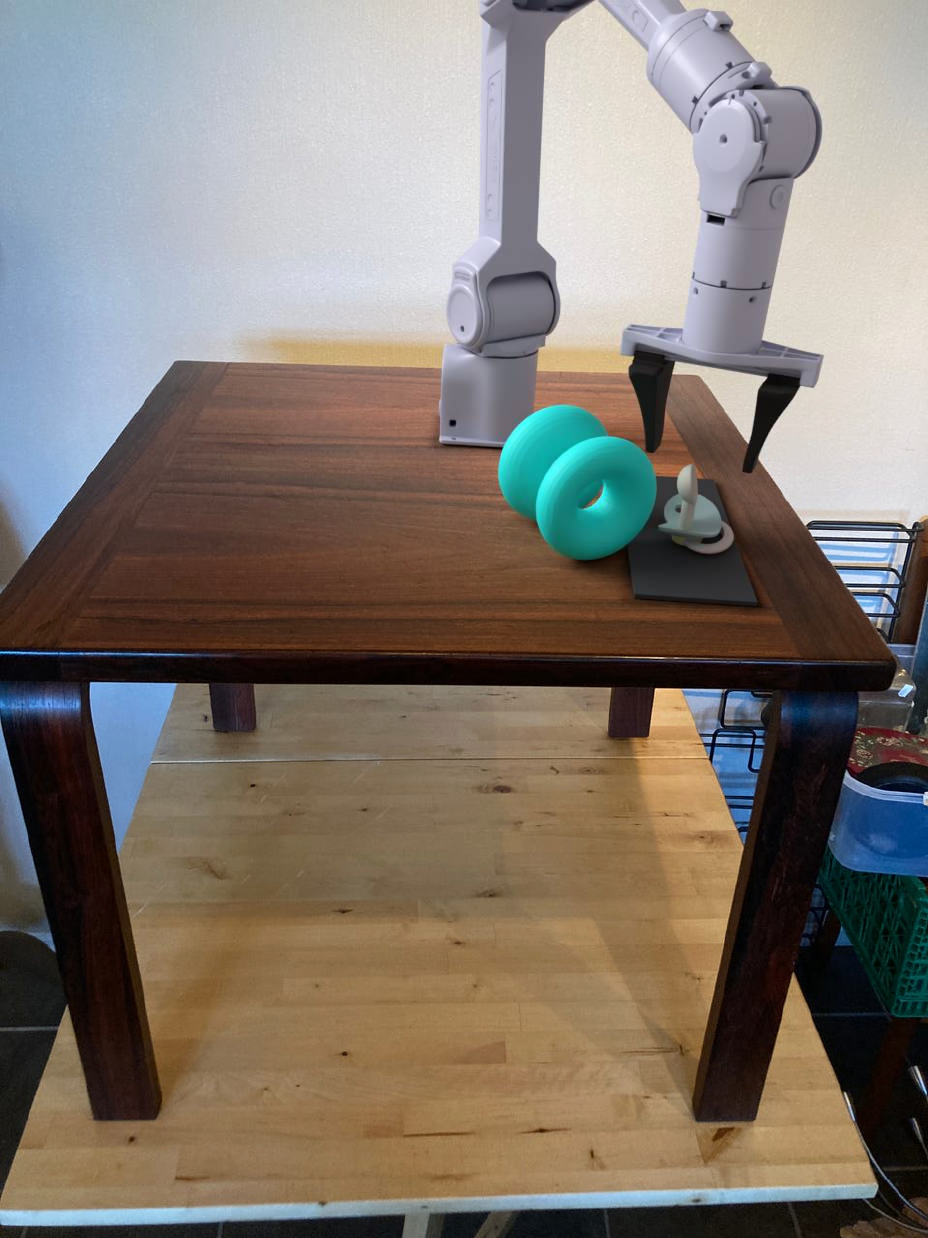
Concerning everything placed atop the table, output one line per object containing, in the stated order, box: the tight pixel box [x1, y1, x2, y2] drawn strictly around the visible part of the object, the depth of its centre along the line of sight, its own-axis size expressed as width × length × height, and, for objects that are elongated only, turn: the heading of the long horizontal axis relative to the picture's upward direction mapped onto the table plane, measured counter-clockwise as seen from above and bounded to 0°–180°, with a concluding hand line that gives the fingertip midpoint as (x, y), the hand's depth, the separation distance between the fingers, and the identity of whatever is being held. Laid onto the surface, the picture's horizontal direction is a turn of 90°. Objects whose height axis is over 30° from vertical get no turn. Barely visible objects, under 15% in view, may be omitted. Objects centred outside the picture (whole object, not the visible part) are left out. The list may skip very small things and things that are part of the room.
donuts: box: [497, 404, 657, 561], centre depth 77 cm, size 10×10×10 cm
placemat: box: [625, 475, 758, 607], centre depth 81 cm, size 9×22×1 cm, turn 176°
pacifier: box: [658, 463, 735, 554], centre depth 78 cm, size 7×6×6 cm
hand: (700, 458), depth 76 cm, fingers open, 7 cm apart
